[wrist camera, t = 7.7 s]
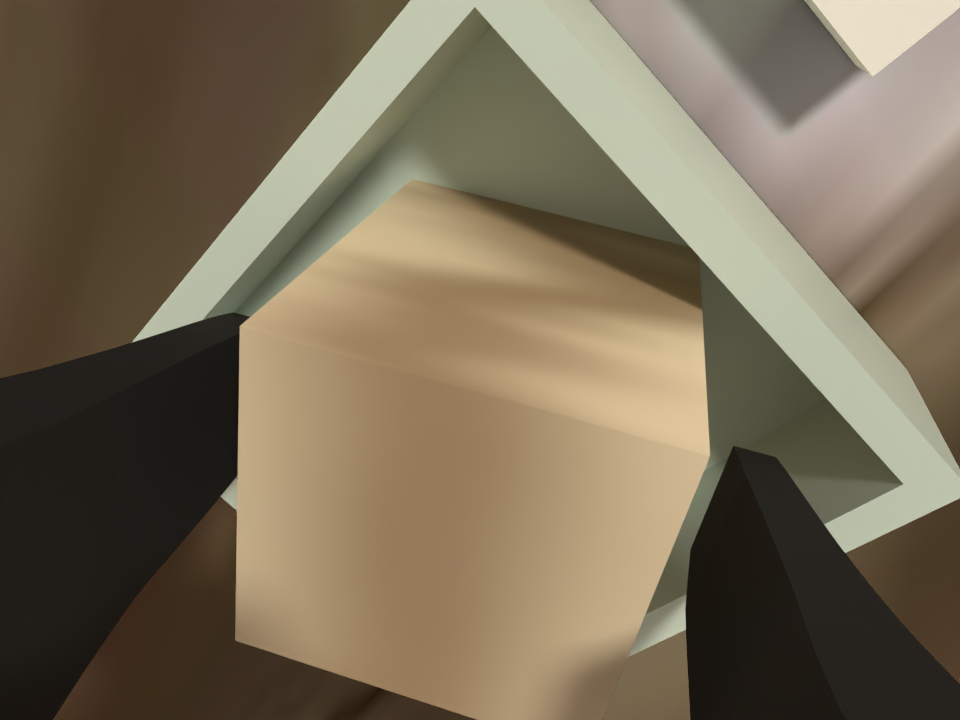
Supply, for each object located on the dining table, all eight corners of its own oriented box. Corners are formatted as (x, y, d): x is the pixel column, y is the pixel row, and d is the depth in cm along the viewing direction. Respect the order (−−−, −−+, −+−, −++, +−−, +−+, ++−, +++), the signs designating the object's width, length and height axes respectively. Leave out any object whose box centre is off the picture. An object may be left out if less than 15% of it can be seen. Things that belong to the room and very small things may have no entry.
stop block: (698, 249, 13) (710, 455, 8) (619, 481, 15) (587, 755, 10) (412, 178, 13) (239, 326, 8) (381, 414, 16) (235, 641, 11)
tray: (906, 369, 13) (972, 492, 10) (518, 595, 18) (485, 724, 15) (527, -71, 12) (473, -77, 8) (204, 305, 16) (94, 388, 13)
